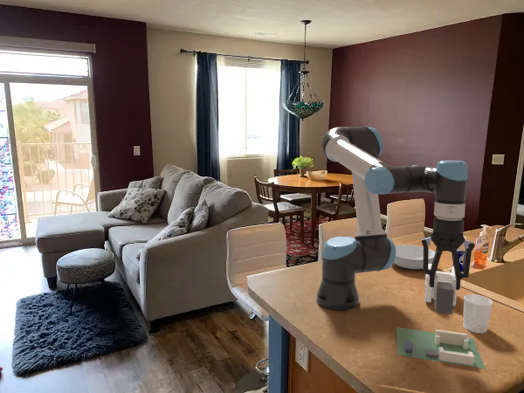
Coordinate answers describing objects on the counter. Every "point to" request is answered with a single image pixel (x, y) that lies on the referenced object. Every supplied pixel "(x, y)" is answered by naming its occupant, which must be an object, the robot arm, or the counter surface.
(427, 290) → the cable organizer
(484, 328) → the white cup
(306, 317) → the counter surface
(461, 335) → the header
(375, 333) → the counter surface
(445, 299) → the plug
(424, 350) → the board
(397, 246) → the serving bowl
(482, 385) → the counter surface
